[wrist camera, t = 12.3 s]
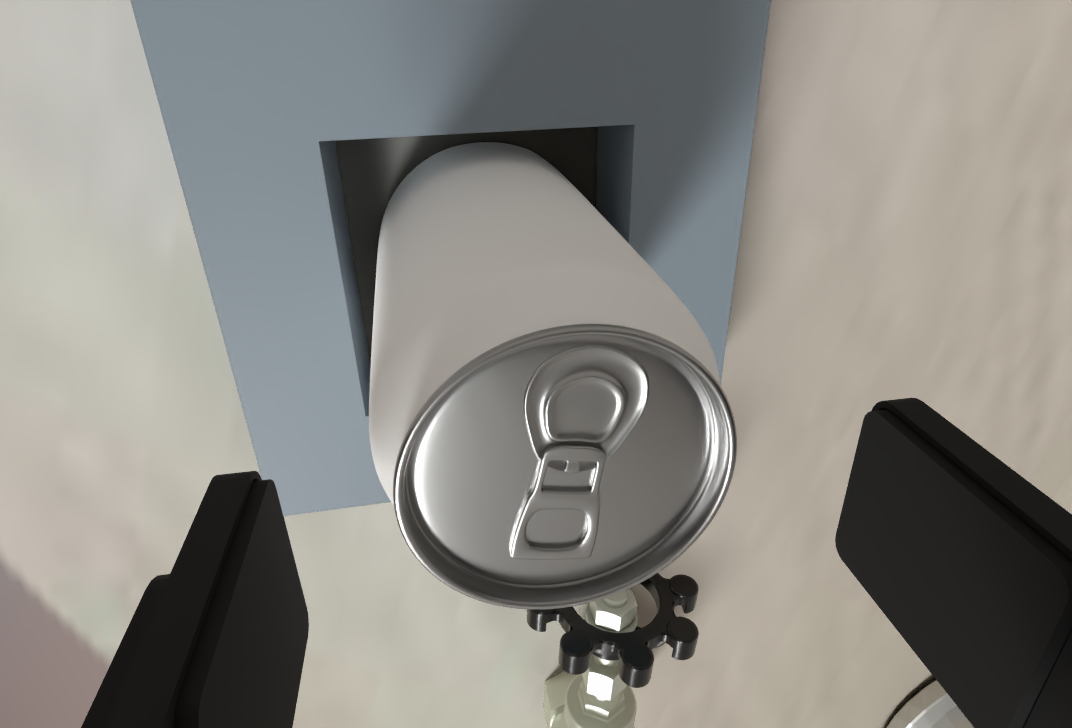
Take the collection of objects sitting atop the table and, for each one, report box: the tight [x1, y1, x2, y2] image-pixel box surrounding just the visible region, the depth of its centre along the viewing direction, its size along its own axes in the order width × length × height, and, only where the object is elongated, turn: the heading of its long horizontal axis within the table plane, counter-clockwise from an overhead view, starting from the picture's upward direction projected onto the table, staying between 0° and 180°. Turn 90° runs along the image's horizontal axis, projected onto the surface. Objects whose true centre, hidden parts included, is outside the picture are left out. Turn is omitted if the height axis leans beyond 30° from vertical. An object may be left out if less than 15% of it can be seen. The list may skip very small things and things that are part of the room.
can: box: [369, 142, 737, 609], centre depth 16 cm, size 6×6×12 cm
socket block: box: [131, 0, 771, 516], centre depth 19 cm, size 14×14×4 cm
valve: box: [527, 573, 699, 728], centre depth 28 cm, size 7×7×12 cm
